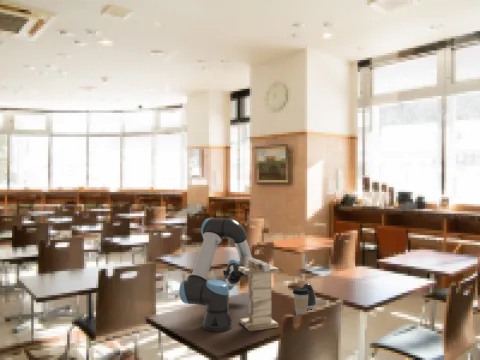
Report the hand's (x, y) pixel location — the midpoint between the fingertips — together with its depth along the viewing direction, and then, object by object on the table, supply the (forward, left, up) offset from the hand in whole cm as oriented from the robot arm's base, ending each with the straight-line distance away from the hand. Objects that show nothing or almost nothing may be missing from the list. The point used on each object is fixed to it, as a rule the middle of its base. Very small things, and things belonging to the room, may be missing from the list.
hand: (243, 266), depth 236 cm
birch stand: (-6, -22, -26) cm, 35 cm away
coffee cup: (+23, -24, -27) cm, 42 cm away
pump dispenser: (+35, -17, -27) cm, 47 cm away
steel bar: (-5, -19, +4) cm, 20 cm away
